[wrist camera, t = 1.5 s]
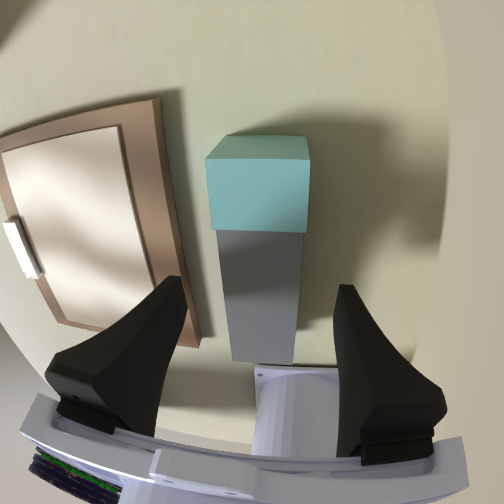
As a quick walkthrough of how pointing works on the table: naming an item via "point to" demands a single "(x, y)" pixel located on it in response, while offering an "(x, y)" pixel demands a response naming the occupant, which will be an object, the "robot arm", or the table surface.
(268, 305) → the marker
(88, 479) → the dark blue cylinder
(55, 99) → the table surface
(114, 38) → the table surface
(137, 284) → the clipboard
